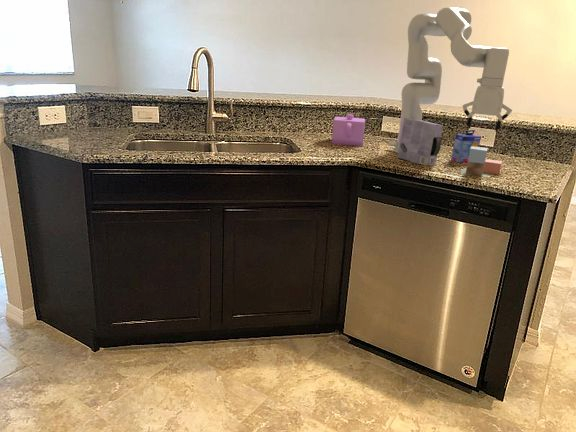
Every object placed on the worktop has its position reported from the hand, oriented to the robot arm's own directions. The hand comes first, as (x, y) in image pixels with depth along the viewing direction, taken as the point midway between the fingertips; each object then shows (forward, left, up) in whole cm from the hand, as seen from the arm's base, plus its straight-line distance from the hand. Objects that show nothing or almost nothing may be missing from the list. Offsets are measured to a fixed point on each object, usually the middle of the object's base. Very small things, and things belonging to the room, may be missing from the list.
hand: (482, 129), depth 178 cm
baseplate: (0, 0, -18) cm, 18 cm away
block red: (+6, +9, -18) cm, 21 cm away
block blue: (0, 0, -12) cm, 12 cm away
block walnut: (0, 0, -17) cm, 17 cm away
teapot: (-63, +35, -18) cm, 74 cm away
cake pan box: (-24, +10, -18) cm, 32 cm away
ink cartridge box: (-6, +23, -18) cm, 30 cm away
